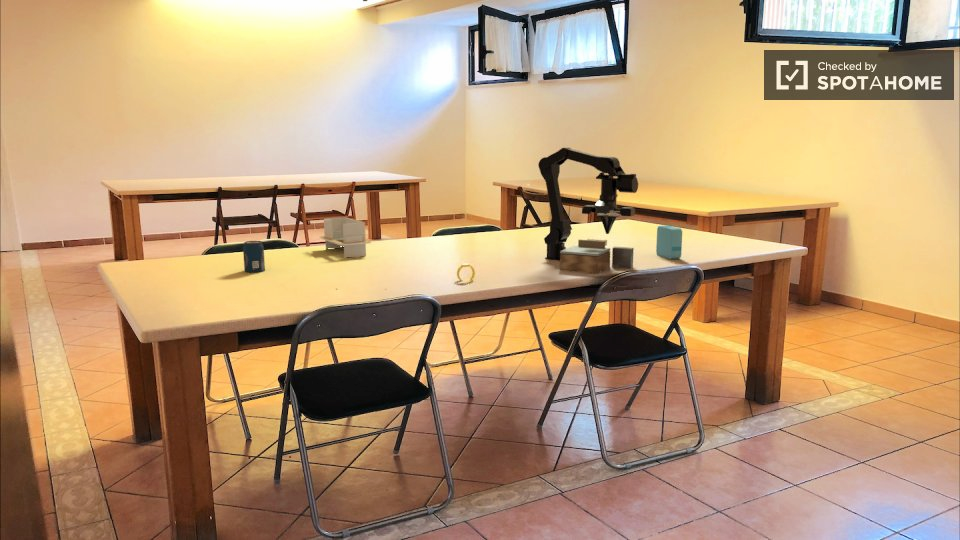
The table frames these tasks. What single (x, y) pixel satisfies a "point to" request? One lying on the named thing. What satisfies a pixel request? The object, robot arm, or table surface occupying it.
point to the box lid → (587, 248)
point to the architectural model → (345, 236)
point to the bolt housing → (622, 257)
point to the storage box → (585, 263)
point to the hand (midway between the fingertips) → (607, 233)
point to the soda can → (253, 257)
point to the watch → (465, 266)
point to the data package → (669, 242)
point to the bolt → (599, 240)
